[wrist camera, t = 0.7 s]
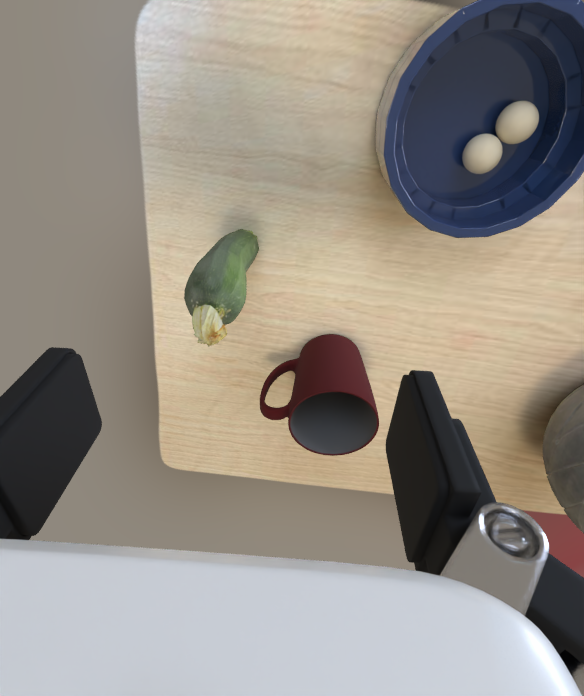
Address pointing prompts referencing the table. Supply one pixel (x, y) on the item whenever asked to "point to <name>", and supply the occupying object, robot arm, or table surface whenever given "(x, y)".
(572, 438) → the bowl
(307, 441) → the mug
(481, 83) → the mixing bowl
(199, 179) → the table surface
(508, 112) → the beige small ball
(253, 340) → the table surface
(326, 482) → the table surface
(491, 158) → the dumpling
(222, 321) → the vegetable
